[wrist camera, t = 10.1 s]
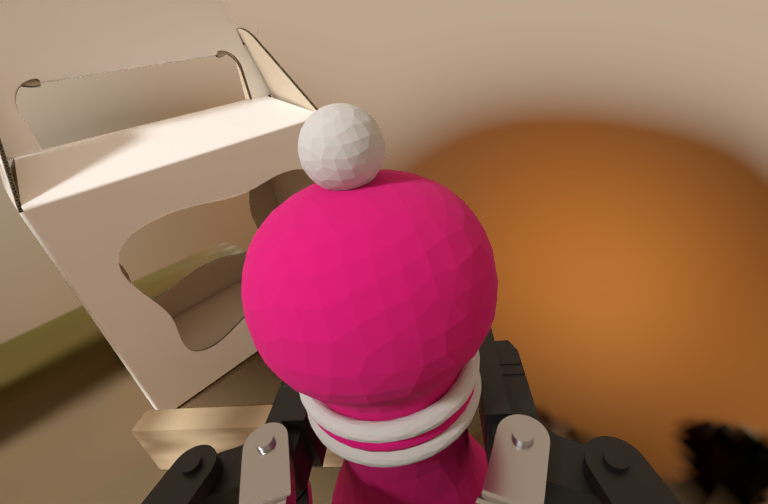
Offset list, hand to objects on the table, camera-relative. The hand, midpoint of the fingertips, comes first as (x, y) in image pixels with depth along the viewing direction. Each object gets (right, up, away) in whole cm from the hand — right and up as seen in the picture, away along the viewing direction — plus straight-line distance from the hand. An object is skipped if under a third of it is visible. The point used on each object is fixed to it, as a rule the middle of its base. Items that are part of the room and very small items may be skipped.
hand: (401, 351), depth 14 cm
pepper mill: (+2, -11, +3) cm, 11 cm away
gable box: (-15, -3, +26) cm, 30 cm away
